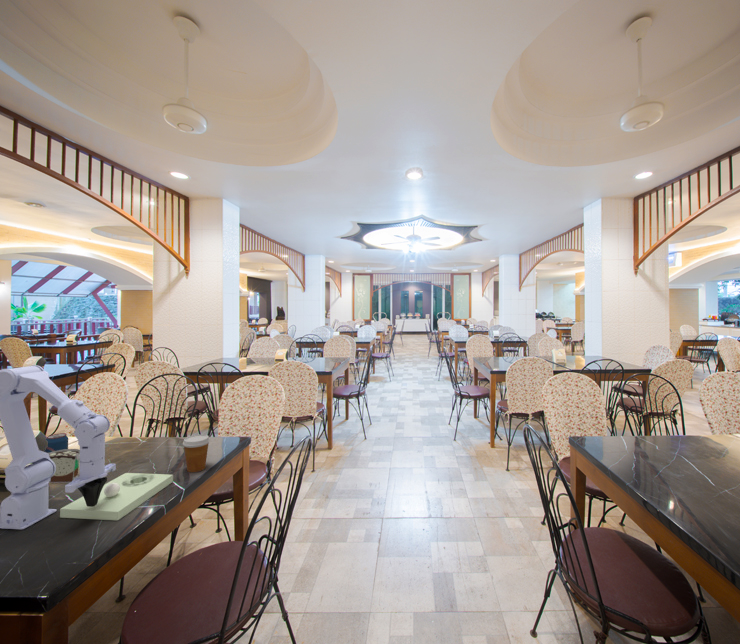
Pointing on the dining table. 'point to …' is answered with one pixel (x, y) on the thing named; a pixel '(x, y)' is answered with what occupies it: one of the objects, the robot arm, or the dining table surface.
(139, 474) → the putting deck
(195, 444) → the disposable coffee cup
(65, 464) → the food container
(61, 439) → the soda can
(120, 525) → the dining table surface
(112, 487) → the ball
